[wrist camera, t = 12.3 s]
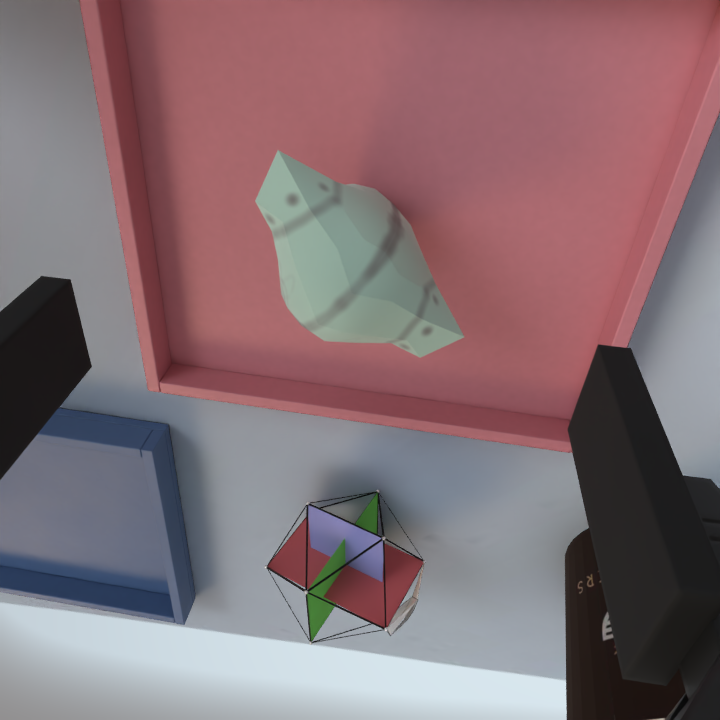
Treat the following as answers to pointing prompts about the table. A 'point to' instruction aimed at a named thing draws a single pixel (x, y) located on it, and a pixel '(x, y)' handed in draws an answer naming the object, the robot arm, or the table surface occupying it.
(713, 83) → the rose tray
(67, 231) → the table surface
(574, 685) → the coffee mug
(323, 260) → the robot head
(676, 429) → the table surface
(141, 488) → the blue tray
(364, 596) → the wire icosahedron model
